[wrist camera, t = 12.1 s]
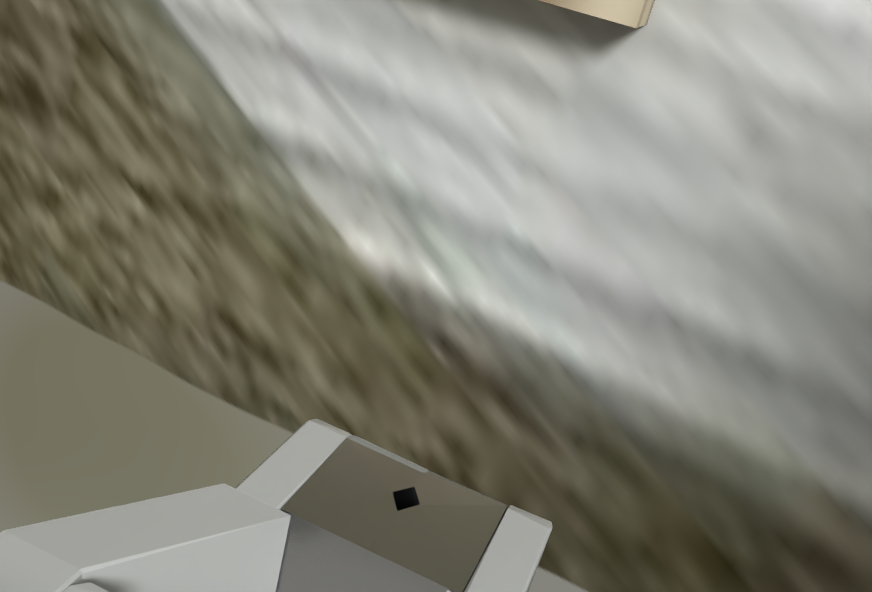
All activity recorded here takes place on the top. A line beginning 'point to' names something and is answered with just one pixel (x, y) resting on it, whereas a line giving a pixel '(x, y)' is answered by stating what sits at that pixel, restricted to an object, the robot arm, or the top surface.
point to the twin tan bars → (611, 9)
